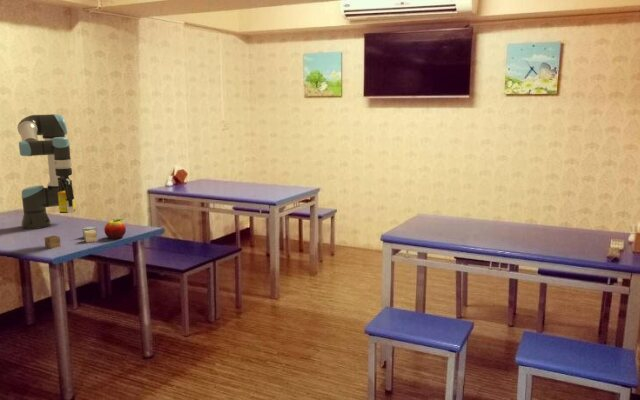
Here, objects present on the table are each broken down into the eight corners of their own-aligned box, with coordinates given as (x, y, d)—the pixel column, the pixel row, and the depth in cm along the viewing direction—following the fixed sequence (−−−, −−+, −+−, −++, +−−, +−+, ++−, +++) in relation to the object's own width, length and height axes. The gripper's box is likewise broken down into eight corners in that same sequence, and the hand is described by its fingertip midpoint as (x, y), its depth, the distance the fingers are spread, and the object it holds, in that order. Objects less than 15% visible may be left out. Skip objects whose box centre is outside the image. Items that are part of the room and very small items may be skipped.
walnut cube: (45, 247, 262) (44, 237, 261) (54, 245, 266) (53, 235, 265) (51, 248, 260) (50, 238, 259) (60, 246, 264) (59, 236, 263)
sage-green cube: (83, 237, 281) (82, 228, 280) (89, 235, 285) (88, 226, 284) (91, 238, 279) (90, 229, 278) (97, 235, 284) (96, 227, 283)
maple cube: (84, 240, 274) (84, 231, 274) (95, 239, 277) (94, 230, 276) (86, 242, 270) (85, 233, 269) (97, 241, 273) (96, 231, 272)
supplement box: (63, 210, 273) (61, 190, 271) (75, 210, 274) (73, 190, 271) (59, 213, 267) (57, 192, 265) (71, 213, 268) (69, 192, 266)
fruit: (102, 237, 281) (100, 219, 279) (123, 234, 287) (121, 216, 285) (108, 241, 272) (106, 222, 271) (129, 237, 279) (127, 219, 277)
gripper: (48, 166, 271) (53, 209, 275) (62, 170, 256) (67, 215, 260) (64, 165, 276) (68, 207, 280) (78, 169, 261) (82, 213, 265)
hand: (67, 211), depth 270 cm, fingers closed on supplement box, 8 cm apart
